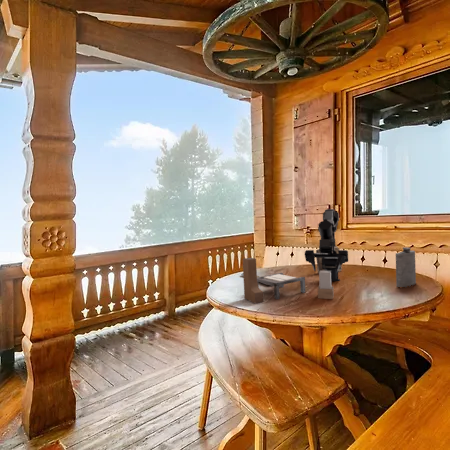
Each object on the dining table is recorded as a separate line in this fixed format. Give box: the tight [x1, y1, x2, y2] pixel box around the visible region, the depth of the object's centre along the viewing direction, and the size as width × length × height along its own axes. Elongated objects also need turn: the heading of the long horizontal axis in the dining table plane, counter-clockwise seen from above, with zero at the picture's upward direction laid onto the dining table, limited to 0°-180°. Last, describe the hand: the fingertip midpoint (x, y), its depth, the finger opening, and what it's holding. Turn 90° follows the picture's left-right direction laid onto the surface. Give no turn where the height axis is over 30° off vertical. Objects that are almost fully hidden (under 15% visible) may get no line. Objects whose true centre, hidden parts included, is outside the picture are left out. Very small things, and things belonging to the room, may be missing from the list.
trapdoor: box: [260, 273, 297, 288], centre depth 145 cm, size 12×12×3 cm
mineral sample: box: [315, 245, 343, 274], centre depth 186 cm, size 17×4×15 cm, turn 108°
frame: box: [257, 272, 306, 300], centre depth 146 cm, size 18×16×7 cm
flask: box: [395, 247, 417, 288], centre depth 147 cm, size 4×14×18 cm, turn 124°
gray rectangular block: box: [318, 271, 332, 289], centre depth 134 cm, size 4×4×7 cm
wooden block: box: [242, 257, 265, 304], centre depth 134 cm, size 9×4×18 cm, turn 27°
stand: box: [317, 285, 335, 300], centre depth 135 cm, size 6×6×4 cm
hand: (325, 271), depth 137 cm, fingers open, 9 cm apart
